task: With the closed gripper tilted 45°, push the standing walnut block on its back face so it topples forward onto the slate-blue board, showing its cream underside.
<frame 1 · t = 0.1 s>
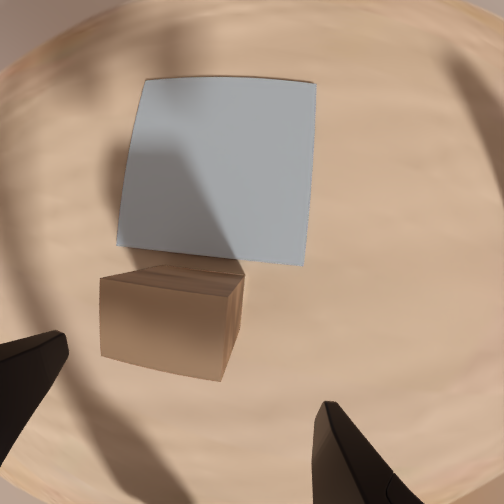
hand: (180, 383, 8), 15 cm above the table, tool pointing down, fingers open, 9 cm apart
slate board: (214, 159, 24), on the table
walnut block: (200, 296, 24), on the table
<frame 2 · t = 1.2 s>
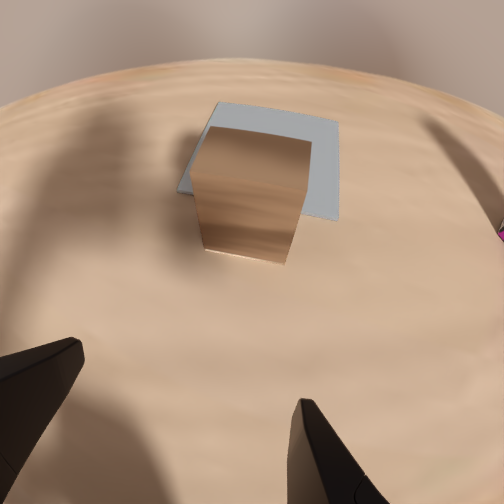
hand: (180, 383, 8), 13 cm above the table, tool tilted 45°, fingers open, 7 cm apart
slate board: (269, 150, 32), on the table
walnut block: (249, 235, 27), on the table
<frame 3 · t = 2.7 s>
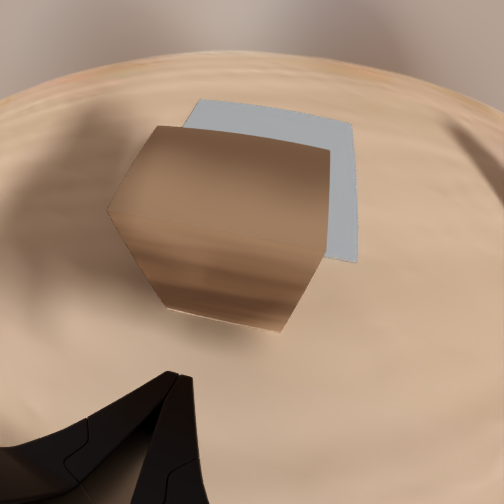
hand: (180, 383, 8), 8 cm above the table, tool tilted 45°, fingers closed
slate board: (262, 160, 24), on the table
walnut block: (230, 288, 18), on the table
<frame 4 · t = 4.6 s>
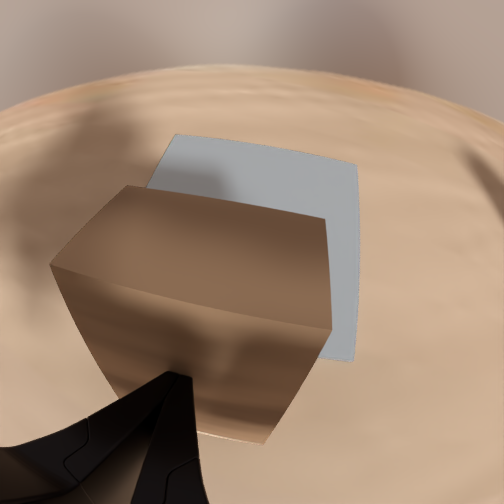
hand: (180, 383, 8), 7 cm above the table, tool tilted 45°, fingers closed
slate board: (245, 224, 20), on the table
walnut block: (202, 393, 14), point 1 cm above the table, tilted 23°
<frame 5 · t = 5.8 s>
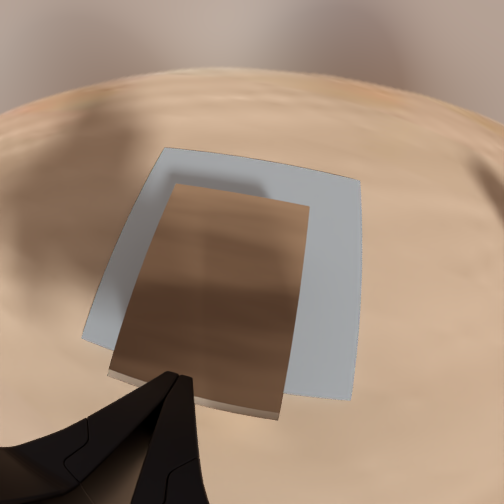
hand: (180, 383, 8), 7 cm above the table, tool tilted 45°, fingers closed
slate board: (237, 251, 19), on the table
walnut block: (195, 401, 12), point 3 cm above the table, tilted 90°, touching slate board
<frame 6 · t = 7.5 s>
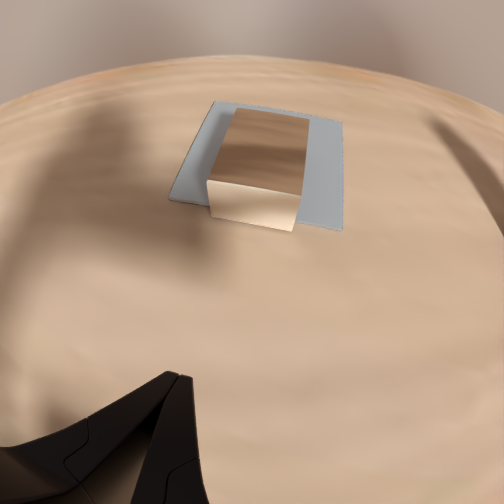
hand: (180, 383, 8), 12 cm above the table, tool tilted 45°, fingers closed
slate board: (268, 153, 30), on the table
walnut block: (251, 208, 23), point 3 cm above the table, tilted 90°, touching slate board
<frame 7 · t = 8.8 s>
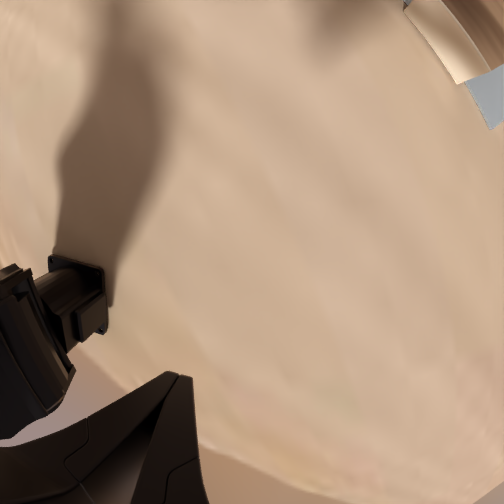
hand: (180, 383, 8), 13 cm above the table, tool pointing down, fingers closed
slate board: (485, 24, 13), on the table
walnut block: (444, 36, 12), point 3 cm above the table, tilted 90°, touching slate board
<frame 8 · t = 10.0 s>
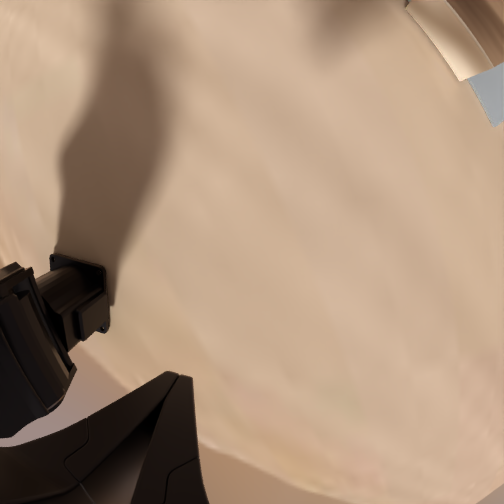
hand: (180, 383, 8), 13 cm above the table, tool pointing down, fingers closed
slate board: (487, 21, 12), on the table
walnut block: (446, 33, 12), point 3 cm above the table, tilted 90°, touching slate board
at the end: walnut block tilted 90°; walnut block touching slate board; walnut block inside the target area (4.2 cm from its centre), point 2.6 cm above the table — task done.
